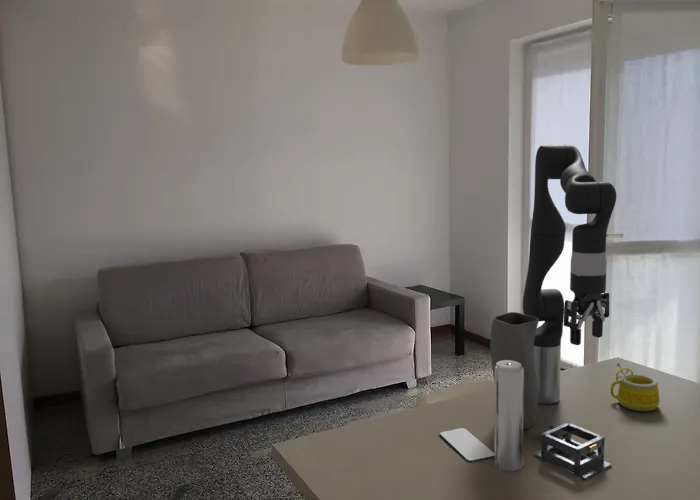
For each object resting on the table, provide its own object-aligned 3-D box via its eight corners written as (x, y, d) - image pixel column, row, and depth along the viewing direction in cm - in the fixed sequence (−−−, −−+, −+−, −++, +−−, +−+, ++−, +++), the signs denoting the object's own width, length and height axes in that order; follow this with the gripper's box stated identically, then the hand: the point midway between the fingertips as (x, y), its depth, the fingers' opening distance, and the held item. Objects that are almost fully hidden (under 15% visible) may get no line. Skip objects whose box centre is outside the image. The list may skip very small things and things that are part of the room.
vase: (507, 439, 153) (508, 326, 149) (482, 420, 165) (482, 315, 160) (547, 431, 157) (549, 321, 153) (520, 413, 169) (521, 310, 164)
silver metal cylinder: (523, 472, 137) (525, 368, 133) (495, 470, 138) (495, 367, 135) (521, 458, 143) (522, 359, 140) (494, 456, 145) (494, 358, 141)
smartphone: (497, 458, 145) (464, 430, 160) (497, 455, 145) (464, 427, 160) (468, 465, 142) (437, 435, 157) (468, 461, 142) (437, 432, 157)
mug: (660, 402, 172) (662, 362, 170) (656, 417, 163) (658, 375, 161) (613, 394, 179) (614, 356, 177) (606, 407, 170) (608, 367, 168)
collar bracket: (534, 455, 144) (534, 430, 143) (560, 443, 150) (560, 419, 149) (585, 480, 133) (585, 453, 132) (611, 466, 138) (612, 440, 137)
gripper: (591, 265, 141) (589, 331, 143) (554, 273, 133) (553, 343, 135) (621, 269, 135) (619, 338, 137) (584, 277, 127) (582, 351, 129)
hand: (586, 340), depth 136 cm, fingers open, 8 cm apart
